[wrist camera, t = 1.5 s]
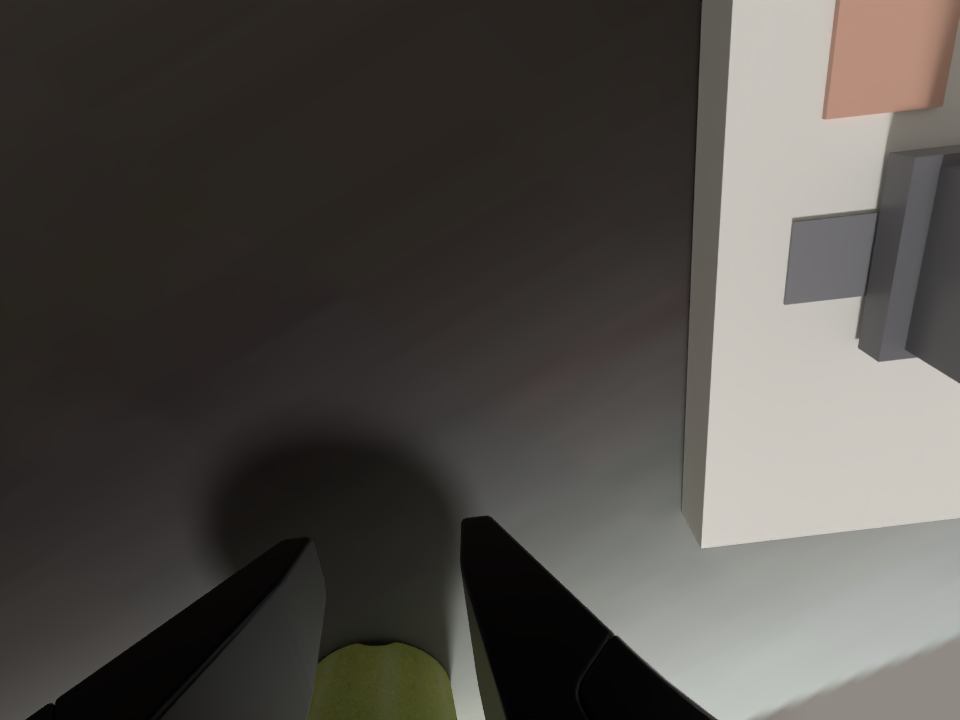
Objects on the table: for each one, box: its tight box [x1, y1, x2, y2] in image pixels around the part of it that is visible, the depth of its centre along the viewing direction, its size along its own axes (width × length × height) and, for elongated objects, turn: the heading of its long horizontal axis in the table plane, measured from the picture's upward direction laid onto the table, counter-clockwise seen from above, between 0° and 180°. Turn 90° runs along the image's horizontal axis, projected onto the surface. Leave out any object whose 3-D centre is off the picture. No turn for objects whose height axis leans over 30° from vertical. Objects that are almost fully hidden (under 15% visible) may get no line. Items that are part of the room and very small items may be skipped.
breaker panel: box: [682, 0, 960, 548], centre depth 19 cm, size 14×20×2 cm
